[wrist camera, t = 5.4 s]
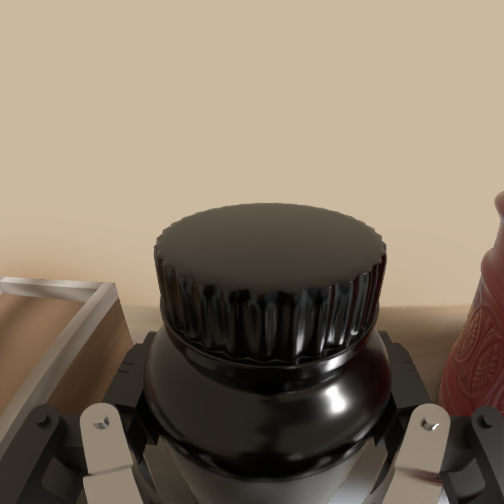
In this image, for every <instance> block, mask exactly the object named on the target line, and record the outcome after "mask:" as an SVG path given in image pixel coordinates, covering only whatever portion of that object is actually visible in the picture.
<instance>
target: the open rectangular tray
mask: <svg viewBox="0 0 504 504" xmlns="http://www.w3.org/2000/svg"><path fill="white" fill-rule="evenodd" d="M133 346H134V345H133V342H132V339H131V336H130V333H129V330H128V327H127V324H126V321H125V317H124V314H123V311H122V307H121V304H120V300H119V297H118V293H117V289H116V286H115V283H108V282H107V283H106V282H84V281H64V280H45V279H30V278H15V277H2V276H0V460H1V458H2V457H3V455H4V453H5V451H6V450H7V448H8V446H9V445H10V443H11V441H12V440H13V438H14V436H15V435H16V433H17V432H18V430H19V428H20V427H21V425H22V424H23V422H24V421H25V419H26V417H27V416H28V414H29V413H30V412H31V410H32V409H34V408H35V407H37V406H39V405H42V404H49V405H52V406H54V407H55V408H56V409H57V410H58V412H59V413H60V414H61V415H78V414H82V413H83V412H84V410H85V409H87V408H88V407H89V406H91V405H93V404H97V403H101V401H102V400H103V398H104V396H105V394H106V392H107V390H108V388H109V386H110V384H111V382H112V380H113V378H114V376H115V374H116V372H118V368H119V366H120V364H122V361H123V359H124V357H125V355H126V353H127V352H128V351H129V350H130V349H131V348H132V347H133ZM53 458H54V456H53V457H52V459H51V460H50V462H49V464H48V466H47V468H46V470H45V472H44V474H43V476H42V479H43V477H44V475H45V473H46V471H47V469H48V467H49V465H50V463H51V461H52V460H53Z"/></svg>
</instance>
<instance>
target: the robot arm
mask: <svg viewBox="0 0 504 504" xmlns="http://www.w3.org/2000/svg"><path fill="white" fill-rule="evenodd" d="M157 333H158V332H155V331H150V332H149V333H148V334H147V336H146V338H145V340H144V342H143V344H138V343H137V344H136V345H134V346H133V347H132V348H131V349H130V350H129V351H128V352H127V353H126V355H125V357H124V359H123V361H122V364H120V366H119V368H118V372H116V374H115V376H114V378H113V380H112V382H111V384H110V386H109V388H108V390H107V392H106V394H105V396H104V398H103V400H102V401H101V403H97V404H93V405H91V406H89V407H88V408H87V409H85V410H84V412H83V413H82V414H78V415H61V414H60V413H59V412H58V410H57V409H56V408H55V407H54V406H52V405H49V404H42V405H39V406H37V407H35V408H34V409H32V410H31V412H30V413H29V414H28V416H27V417H26V419H25V421H24V422H23V424H22V425H21V427H20V428H19V430H18V432H17V433H16V435H15V436H14V438H13V440H12V441H11V443H10V445H9V446H8V448H7V450H6V451H5V453H4V455H3V457H2V458H1V460H0V504H76V501H77V499H78V497H79V494H80V492H81V489H82V487H83V485H84V489H85V494H86V498H87V502H88V504H166V503H165V501H164V499H163V498H162V496H161V494H160V492H159V489H158V487H157V484H156V482H155V480H154V477H153V475H152V472H151V469H150V467H149V464H148V462H147V459H146V456H145V454H144V449H145V446H146V444H150V445H155V446H157V442H158V439H159V436H160V434H159V431H158V429H157V427H156V425H155V423H154V421H153V418H152V416H151V413H150V411H149V408H148V405H147V402H146V398H145V394H144V386H143V372H144V366H145V360H146V357H147V354H148V351H149V348H150V346H151V344H152V341H153V339H154V337H155V336H156V334H157ZM378 333H379V335H380V337H381V338H382V340H383V342H384V345H385V347H386V350H387V352H388V356H389V360H390V364H391V371H392V387H391V394H390V398H389V402H388V405H387V408H386V410H385V412H384V415H383V417H382V419H381V421H380V424H379V426H378V428H377V429H376V431H375V433H374V435H373V438H374V442H375V446H376V447H380V446H385V445H386V448H387V454H386V455H385V457H384V460H383V462H382V464H381V467H380V469H379V471H378V474H377V476H376V478H375V480H374V482H373V484H372V486H371V488H370V490H369V493H368V495H367V496H366V498H365V500H364V501H363V503H362V504H437V503H438V500H439V497H440V494H441V490H442V486H443V485H444V488H445V491H446V494H447V497H448V500H449V503H450V504H504V418H503V417H502V415H501V413H500V412H499V411H498V410H497V409H495V408H493V407H491V406H481V407H479V408H477V409H476V410H475V411H474V412H473V414H472V415H471V416H451V415H448V413H447V412H446V410H444V409H443V408H442V407H440V406H438V405H436V404H432V402H431V400H430V397H429V395H428V393H427V391H426V389H425V386H424V384H423V382H422V380H421V378H420V376H419V373H418V372H417V369H416V367H415V365H414V364H413V361H412V359H411V357H410V355H409V353H408V351H407V350H406V349H405V348H403V347H402V346H401V345H400V344H399V343H393V344H392V342H391V340H390V338H389V336H388V334H387V332H386V331H378ZM53 456H54V458H53V460H52V461H51V463H50V465H49V467H48V469H47V471H46V473H45V475H44V477H43V479H42V476H43V474H44V472H45V470H46V468H47V466H48V464H49V462H50V460H51V459H52V457H53ZM476 461H477V462H476ZM477 463H478V464H477ZM478 465H479V466H478ZM479 468H480V469H479ZM480 470H481V471H480ZM481 473H482V474H481ZM439 474H440V477H441V478H439ZM482 475H483V476H482ZM483 477H484V479H483ZM484 480H485V481H484Z"/></svg>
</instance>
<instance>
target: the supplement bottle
mask: <svg viewBox="0 0 504 504" xmlns="http://www.w3.org/2000/svg"><path fill="white" fill-rule="evenodd" d="M386 257H387V255H386V244H385V243H384V242H383V241H382V236H381V235H379V234H378V233H376V232H375V230H374V228H372V227H370V226H368V225H366V224H365V223H364V222H362V221H360V220H357V219H355V218H353V217H352V216H348V215H344V214H342V213H339V212H336V211H331V210H327V209H324V208H317V207H312V206H306V205H297V204H283V203H253V204H240V205H232V206H224V207H220V208H213V209H209V210H206V211H203V212H198V213H195V214H193V215H191V216H187V217H184V218H182V219H181V220H179V221H177V222H174V223H172V224H171V226H170V227H168V228H166V229H164V230H163V234H161V235H160V236H159V237H157V243H156V245H155V246H154V259H155V266H156V271H157V277H158V283H159V289H160V294H161V298H160V310H161V315H162V319H163V326H162V327H161V328H160V330H159V331H158V333H157V334H156V336H155V337H154V339H153V341H152V344H151V346H150V348H149V351H148V354H147V357H146V360H145V366H144V372H143V386H144V394H145V398H146V402H147V405H148V408H149V411H150V413H151V416H152V418H153V421H154V423H155V425H156V427H157V429H158V431H159V434H160V436H161V438H162V440H163V442H164V444H165V445H166V447H167V449H168V451H169V453H170V455H171V457H172V459H173V461H174V462H175V464H176V466H177V468H178V470H179V471H180V473H181V475H182V477H183V478H184V480H185V482H186V483H187V485H188V487H189V488H190V490H191V492H192V493H193V495H194V496H195V498H196V499H197V500H198V502H199V503H200V504H327V503H328V502H329V501H330V500H331V499H332V497H333V496H334V495H335V493H336V492H337V491H338V489H339V488H340V486H341V485H342V484H343V482H344V481H345V479H346V478H347V476H348V475H349V473H350V472H351V470H352V469H353V467H354V466H355V464H356V463H357V461H358V460H359V458H360V456H361V455H362V453H363V452H364V450H365V448H366V447H367V445H368V443H369V442H370V440H371V438H372V436H373V435H374V433H375V431H376V429H377V428H378V426H379V424H380V421H381V419H382V417H383V415H384V412H385V410H386V408H387V405H388V402H389V398H390V394H391V387H392V371H391V364H390V360H389V356H388V352H387V350H386V347H385V345H384V342H383V340H382V338H381V337H380V335H379V333H378V331H377V330H376V329H375V325H376V321H377V318H378V313H379V297H380V293H381V288H382V284H383V279H384V274H385V269H386V262H387V258H386Z"/></svg>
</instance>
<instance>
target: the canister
mask: <svg viewBox="0 0 504 504" xmlns="http://www.w3.org/2000/svg"><path fill="white" fill-rule="evenodd" d="M495 207H496V209H497V211H498V214H499V216H500V219H501V222H500V227H499V231H498V234H497V238H496V241H495V244H494V247H493V248H491V249H490V250H489V251H488V252H486V254H485V255H484V257H483V259H482V262H481V278H480V281H479V284H478V288H477V291H476V294H475V297H474V299H473V302H472V305H471V308H470V311H469V314H468V316H467V319H466V321H465V324H464V327H463V329H462V332H461V334H460V336H459V338H458V339H457V340H456V342H455V343H454V345H453V346H452V348H451V351H450V353H449V356H448V358H447V360H446V362H445V365H444V369H443V373H442V379H441V382H440V386H439V391H438V406H440V407H442V408H443V409H444V410H446V412H447V413H448V415H451V416H471V415H472V414H473V412H474V411H475V410H476V409H477V408H479V407H481V406H491V407H493V408H495V409H497V410H498V411H499V412H500V413H501V415H502V417H503V418H504V191H503V192H501V193H499V194H498V195H497V196H496V198H495ZM476 462H477V461H476ZM477 464H478V463H477ZM478 466H479V465H478ZM479 469H480V468H479ZM480 471H481V470H480ZM481 474H482V473H481ZM482 476H483V475H482Z"/></svg>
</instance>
